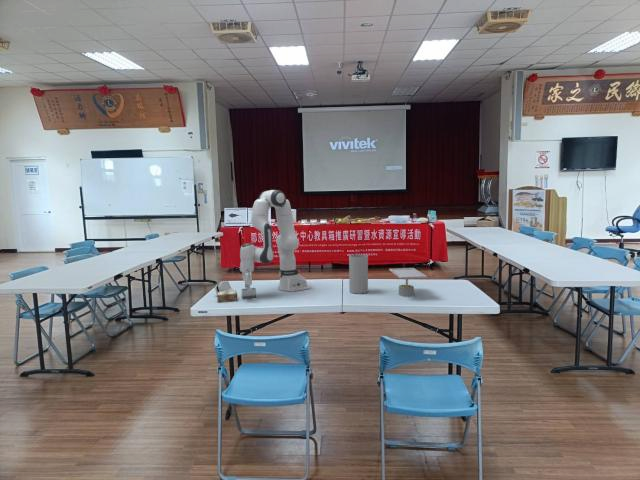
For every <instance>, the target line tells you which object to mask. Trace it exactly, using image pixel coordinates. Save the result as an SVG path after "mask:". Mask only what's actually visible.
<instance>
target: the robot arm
mask: <svg viewBox="0 0 640 480" xmlns="http://www.w3.org/2000/svg"><path fill="white" fill-rule="evenodd" d="M271 207H272V208H274V209H275V217H276V225H277V229H278V232H279V234H278V235H277V236H276V239H275V243H276V246H277V251H278V255H279V273H278V274H279V285H278V287H277V288H278V290H279V291H283V292H284V291H285V292H291V293H292V292H297V291H305V290H311V286H310V285H309V284H308V281H307V279H306V278H305V277H304V276H302V275H301V274H300V273H301V270H300V269H298V268H297V265H296V256H295V252H294V251H296V250H297V249H298V248H299V246H300V241H299V238H298V237H297V231H296V230H295V226H294V220H293V211H292V207H291V203H290V200H289V199H287V198H286V195H285V193H284V192H283V191H281V190H279V189H270V190H264V191H262V192H260V194H259V196H258V198H257V199H256V200H255V201H254V203H253V205H252V210H251V216H250V217H251V218H250V219H251V221H250V222H251V224H252V226H253V227H254V229H256V230H257V231H260V233H261V234H262V239H263V240H262V241H263V242H262V243H263V247H258V246H255V245H254V244H253V242H252V243H251V242H247V243H243V244H242V245H241V246H240V251H239V258H240V265H239V267H240V270H239V271H240V272H241V276H242V279H243V282H244V289H246V288H247V291H250V288H251V286H252V285H253V279H252V278H253V276H252V275H253V272H255V263H260V264H264V265H268V264H270V263H271V262H273V260H274V257H275V256H274V255H275V254H274V250H273V234H272V233H273V231H272V226H271V225H270V223H269V211H270V209H271Z"/></svg>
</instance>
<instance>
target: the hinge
mask: <svg viewBox="0 0 640 480" xmlns="http://www.w3.org/2000/svg"><path fill="white" fill-rule="evenodd" d="M214 289H215V293H216V294H217V292H223V291H234V288H232V286H231V284H230V282H229V281H227V280H223V281H220V282H218V283H216V285H215V287H214Z"/></svg>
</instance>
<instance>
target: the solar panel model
mask: <svg viewBox="0 0 640 480" xmlns="http://www.w3.org/2000/svg"><path fill="white" fill-rule="evenodd" d="M388 271H390V272H391V273H392V274H393V275H395V276H396V277H397V278H399V279H400V280H401V279H403V280H404V279H405V284H399V285H398V295H399V296H401V297H405V298H410V297H413V296H414V295H415V292H414V291H415V286H414V285H411V284H409V279H423V278H424V279H426V278H428V276H427V275H426V274H424V273H422V272H421V271H420V270H417V269H416V268H414V267H403V268H402V267H401V268H399V267H398V268H388Z"/></svg>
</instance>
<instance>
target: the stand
mask: <svg viewBox="0 0 640 480" xmlns="http://www.w3.org/2000/svg"><path fill="white" fill-rule="evenodd" d="M233 290H234V289H233ZM216 296H217V302H218V303H227V302H238V301H239V300H238V299H239V298H238V292H237V290H234V291H223V292H217V293H216Z"/></svg>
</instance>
